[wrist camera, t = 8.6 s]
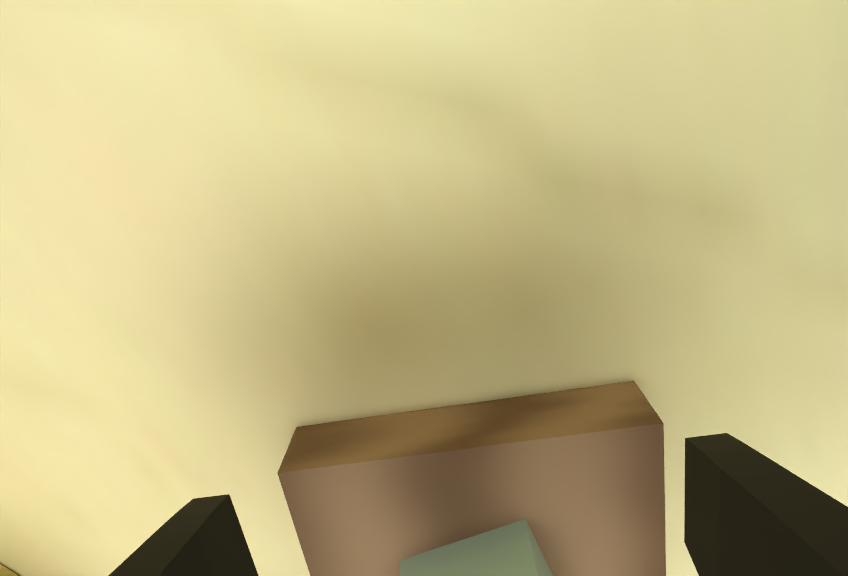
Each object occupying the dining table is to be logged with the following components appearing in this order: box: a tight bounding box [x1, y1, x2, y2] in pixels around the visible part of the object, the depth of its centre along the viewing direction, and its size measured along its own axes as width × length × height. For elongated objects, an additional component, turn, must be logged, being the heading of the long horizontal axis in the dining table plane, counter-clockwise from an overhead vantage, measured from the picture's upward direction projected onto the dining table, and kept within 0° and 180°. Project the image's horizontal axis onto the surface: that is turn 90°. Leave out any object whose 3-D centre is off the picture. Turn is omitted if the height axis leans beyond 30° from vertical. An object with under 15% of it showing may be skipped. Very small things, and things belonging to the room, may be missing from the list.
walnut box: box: [278, 381, 666, 576], centre depth 20 cm, size 12×12×3 cm
